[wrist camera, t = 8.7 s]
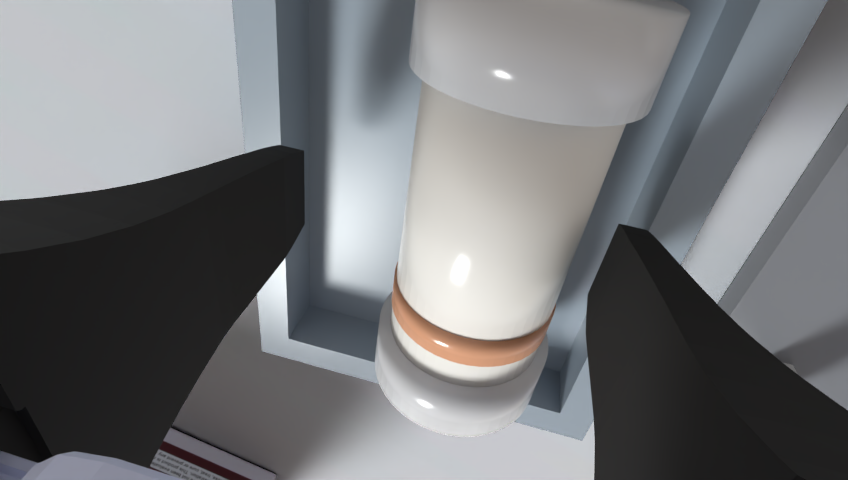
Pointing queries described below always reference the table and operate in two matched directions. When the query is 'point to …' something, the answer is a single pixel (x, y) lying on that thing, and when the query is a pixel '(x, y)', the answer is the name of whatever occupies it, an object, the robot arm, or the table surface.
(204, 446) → the supplement box
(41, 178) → the table surface
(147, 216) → the robot arm
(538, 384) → the tray
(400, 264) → the fuse
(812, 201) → the fuse holder
